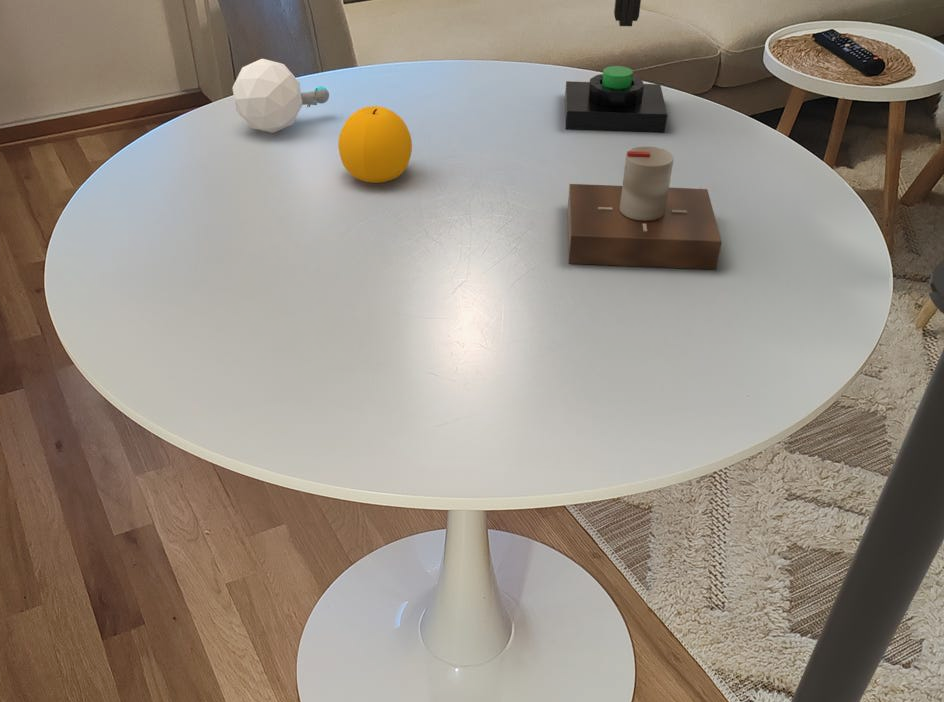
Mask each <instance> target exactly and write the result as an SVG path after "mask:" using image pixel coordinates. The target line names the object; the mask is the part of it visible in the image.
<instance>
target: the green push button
mask: <svg viewBox="0 0 944 702" xmlns="http://www.w3.org/2000/svg"><path fill="white" fill-rule="evenodd" d="M602 74H603V78H602V85H603V86H605V87H609V88H613V89H624V88H630V87H631V84H632V76H634V71H633V70H632V68H630V67H627V66H622V65H611V66H606V67H604V68H603V70H602Z"/></svg>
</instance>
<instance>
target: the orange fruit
mask: <svg viewBox="0 0 944 702" xmlns="http://www.w3.org/2000/svg"><path fill="white" fill-rule="evenodd" d="M337 143H338V145H337V146H338V147H337V148H338V153H339V158H340V160H341V163H342V166H343V168H345V170H346V171H347V173H349V174H350V175H351V176H353V177H354V178H355V179H357V180H359V181H362V182H364V183H371V184H372V183H373V184H374V183H375V184H380V183H386V182H391V181H392V180H395V179H396V178H398V177H400V175H402V174H403V173H404V171H406V169H407V168H408V166H409V163H410V160H411V157H412V152H413V142H412V136H411V133H410V131H409V128H408V126H407V124H406V122H405V121H404V120H403V118H402V117H401V116H399V115H398V114H397V113H395V112H394V111H393V110H391V109H389V108H386V107H383V106H378V105H371V106H364V107H362V108H359V109H358V110H356V111H354V112H353V113H351V115H350V116H348V118H347V119H346V120H345V122H344V124H343V126H342V127H341V130H340V133H339V136H338V142H337Z"/></svg>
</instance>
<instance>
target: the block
mask: <svg viewBox="0 0 944 702" xmlns="http://www.w3.org/2000/svg"><path fill="white" fill-rule="evenodd" d="M602 78H603V73H601V74H596V75H594V76H593V77H591V78H590V79H589V81H569V80H568V81H566V82H565V92H564V118H565V119H564V120H565V121H564V122H565V124H564V125H565V130H583V131H584V130H585V131H613V132H615V131H616V132H639V133H640V132H642V133H643V132H644V133H665V132H666V126H667V120H668V112H667V107H666V103H665V98H664V94H663V89H662V85H661V84H660V83H644V80H642V79H640V78H638V77H637V76H635V75H633V76H632V84H631V87H630V88H624V89H613V88H609V87H605V86H603V85H602Z"/></svg>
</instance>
